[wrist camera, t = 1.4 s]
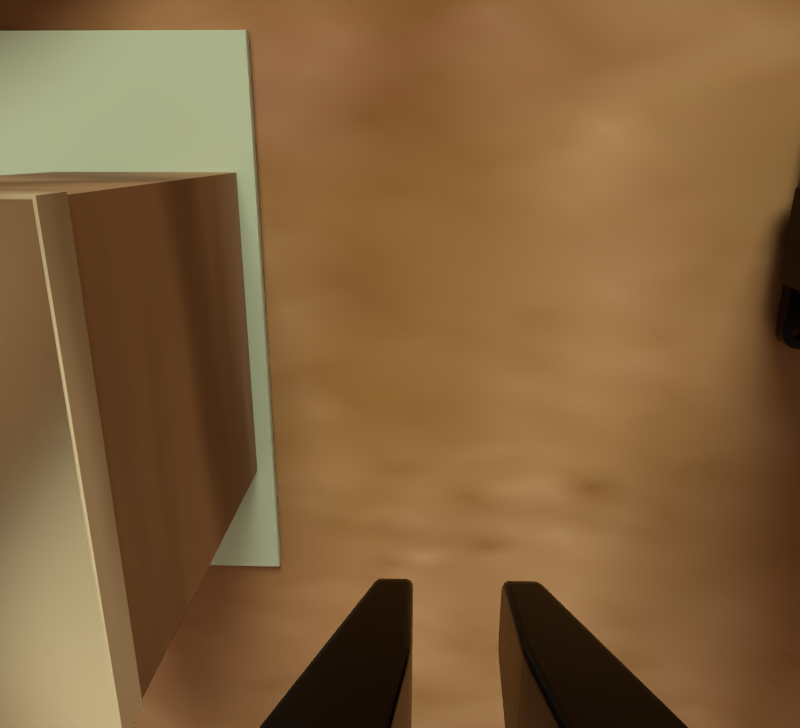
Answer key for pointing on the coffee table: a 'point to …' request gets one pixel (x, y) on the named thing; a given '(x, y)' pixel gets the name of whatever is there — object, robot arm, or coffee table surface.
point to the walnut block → (114, 428)
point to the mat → (154, 168)
